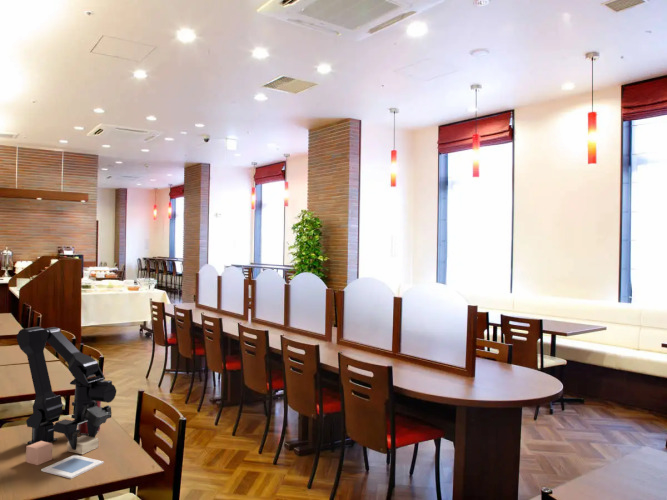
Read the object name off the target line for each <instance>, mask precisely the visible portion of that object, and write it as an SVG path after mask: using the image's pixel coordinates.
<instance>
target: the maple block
mask: <svg viewBox="0 0 667 500" xmlns="http://www.w3.org/2000/svg"><path fill="white" fill-rule="evenodd" d="M66 445H67V446H66V451H67V452H70V453H75V454H77V455H78V454H79V455H85V454H87V453H88V452H92V451H94V450H95V449H96V450H97V449H98V448H99V438H98V437H95V438H94V437H90V436H88V435H81V436H79V437H78V436H77V447H76V450H73V449H72V447H71V445H70V443H69V441H68V440H67V443H66Z"/></svg>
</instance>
